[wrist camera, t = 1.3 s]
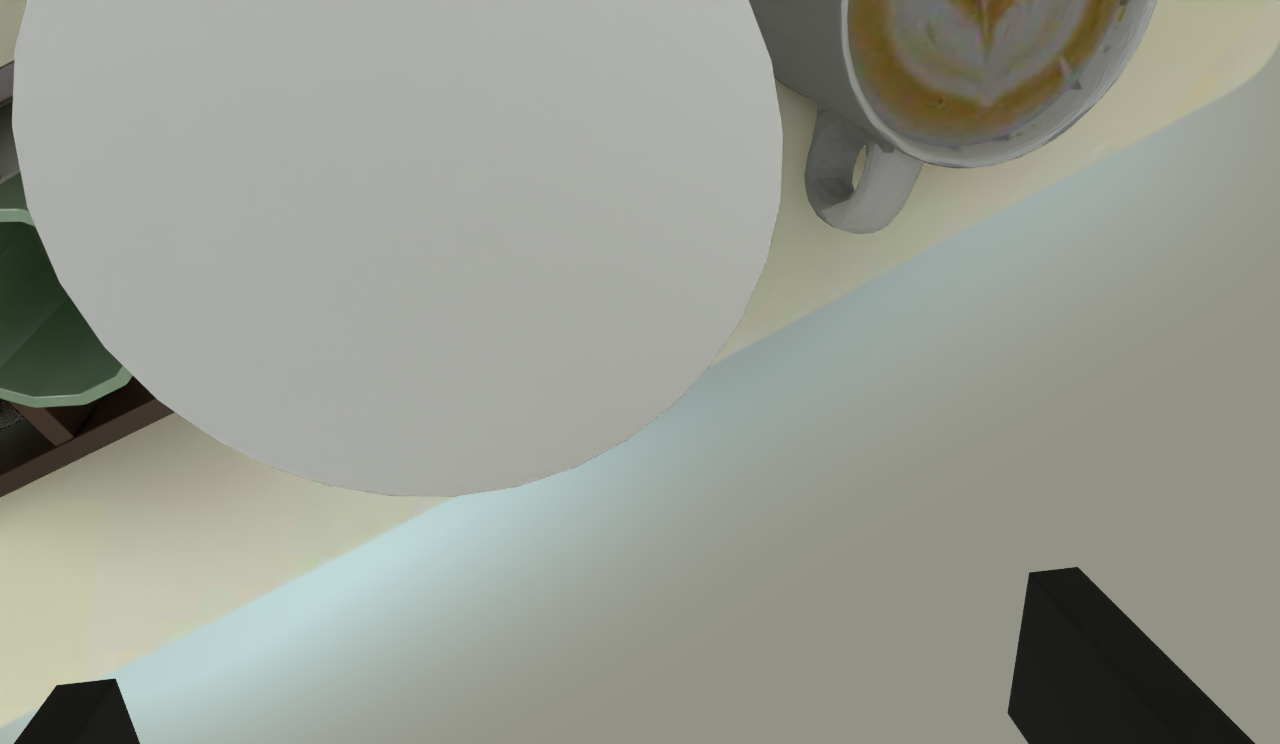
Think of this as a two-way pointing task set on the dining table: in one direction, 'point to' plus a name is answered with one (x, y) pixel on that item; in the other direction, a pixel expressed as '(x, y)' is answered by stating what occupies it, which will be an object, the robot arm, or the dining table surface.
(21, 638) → the dining table surface
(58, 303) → the sage cup
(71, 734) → the robot arm
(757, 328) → the dining table surface
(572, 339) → the cylindrical container
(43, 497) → the dining table surface
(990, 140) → the coffee mug
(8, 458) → the cup holder
